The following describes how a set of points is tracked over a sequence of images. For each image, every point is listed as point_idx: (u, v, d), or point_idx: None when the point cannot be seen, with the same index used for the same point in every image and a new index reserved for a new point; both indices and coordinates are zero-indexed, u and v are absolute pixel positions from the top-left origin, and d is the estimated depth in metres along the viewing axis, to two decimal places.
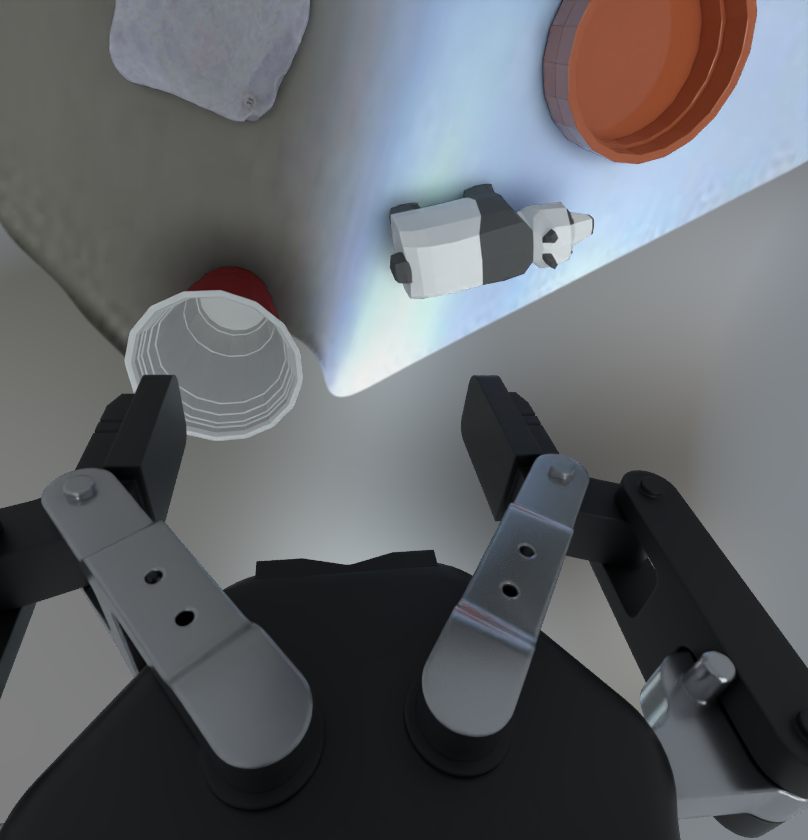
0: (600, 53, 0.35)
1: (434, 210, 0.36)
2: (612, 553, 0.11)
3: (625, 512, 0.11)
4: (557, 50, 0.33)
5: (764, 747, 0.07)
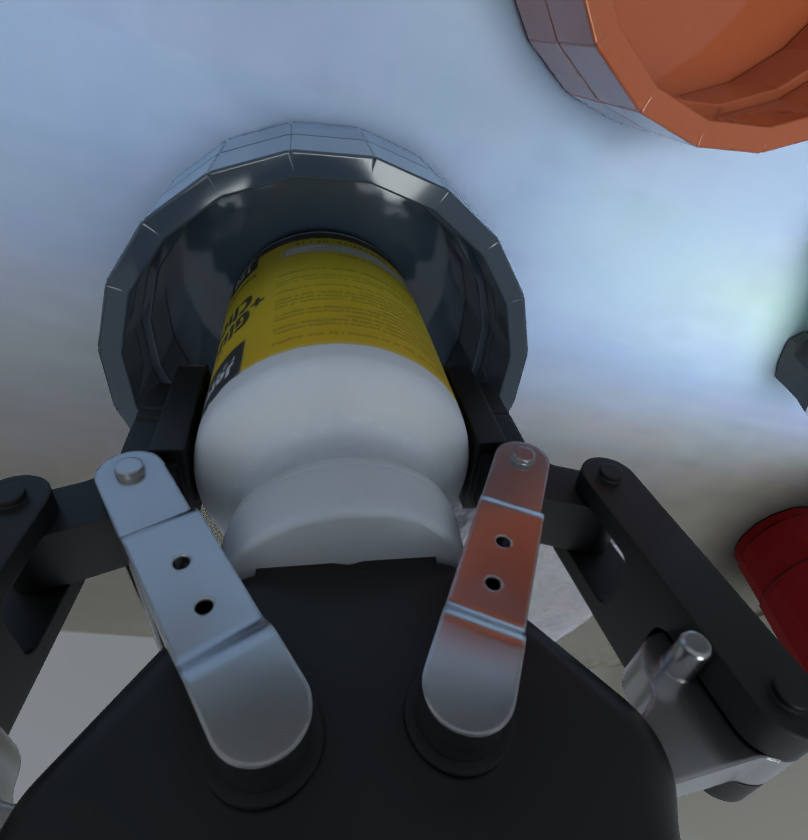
0: None
1: None
2: (573, 539, 0.12)
3: (584, 498, 0.11)
4: None
5: (745, 718, 0.08)
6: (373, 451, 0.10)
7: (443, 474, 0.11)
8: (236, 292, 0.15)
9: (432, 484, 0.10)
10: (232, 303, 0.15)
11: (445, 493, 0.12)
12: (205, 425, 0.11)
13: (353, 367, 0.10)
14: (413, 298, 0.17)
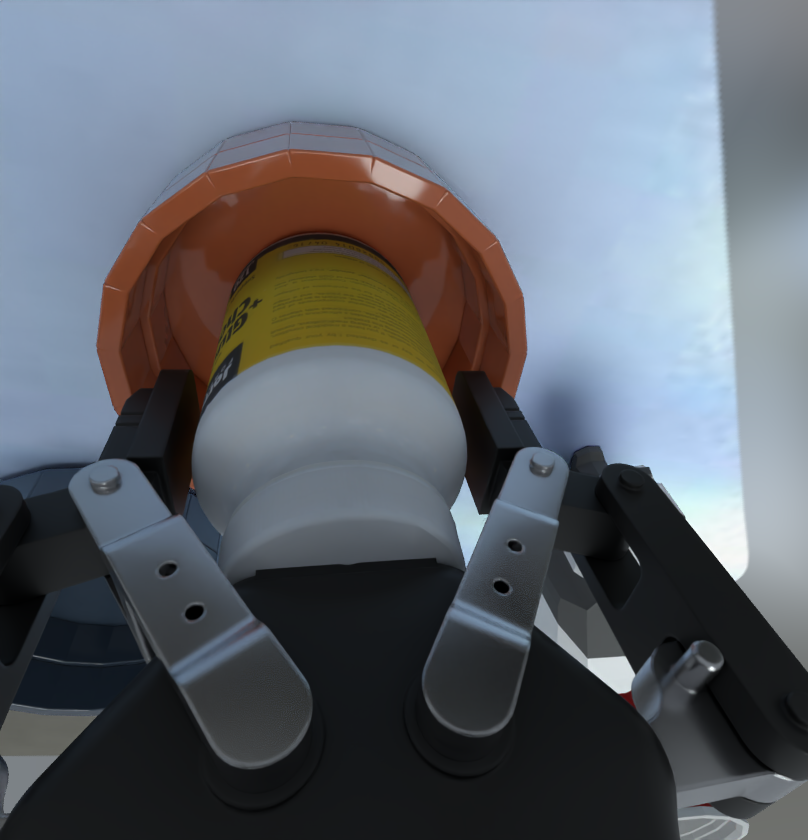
0: None
1: None
2: (593, 545, 0.12)
3: (604, 504, 0.11)
4: None
5: (755, 732, 0.07)
6: (371, 453, 0.10)
7: (441, 476, 0.11)
8: (234, 293, 0.15)
9: (430, 486, 0.10)
10: (230, 304, 0.15)
11: (443, 495, 0.12)
12: (203, 427, 0.11)
13: (351, 368, 0.10)
14: None
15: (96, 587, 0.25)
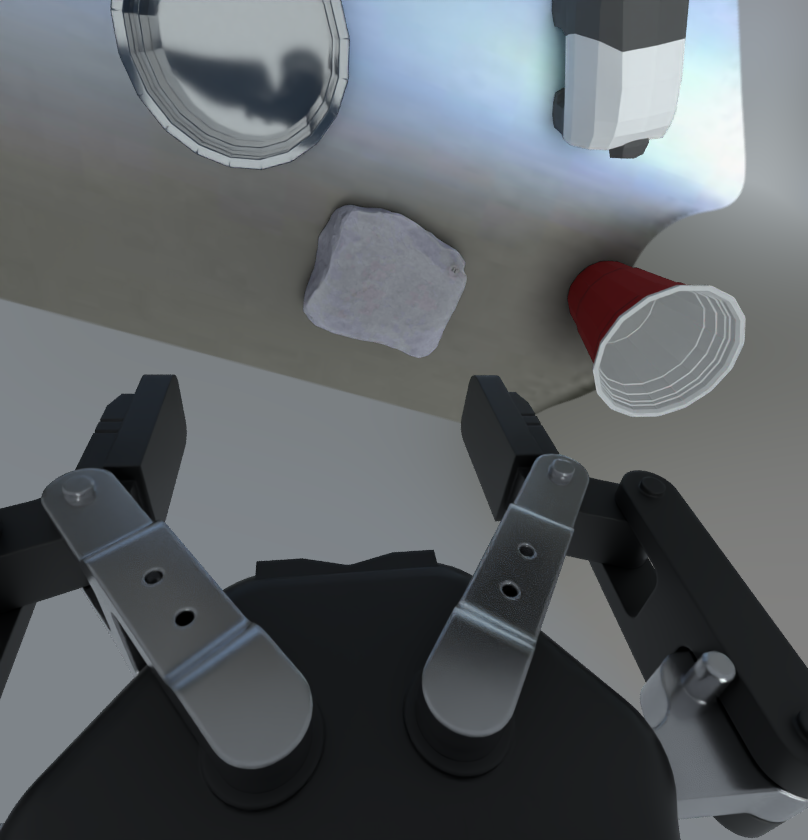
0: None
1: (573, 92, 0.32)
2: (612, 553, 0.11)
3: (625, 512, 0.11)
4: None
5: (764, 747, 0.07)
6: None
7: None
8: None
9: None
10: None
11: None
12: None
13: None
14: None
15: (230, 78, 0.32)
